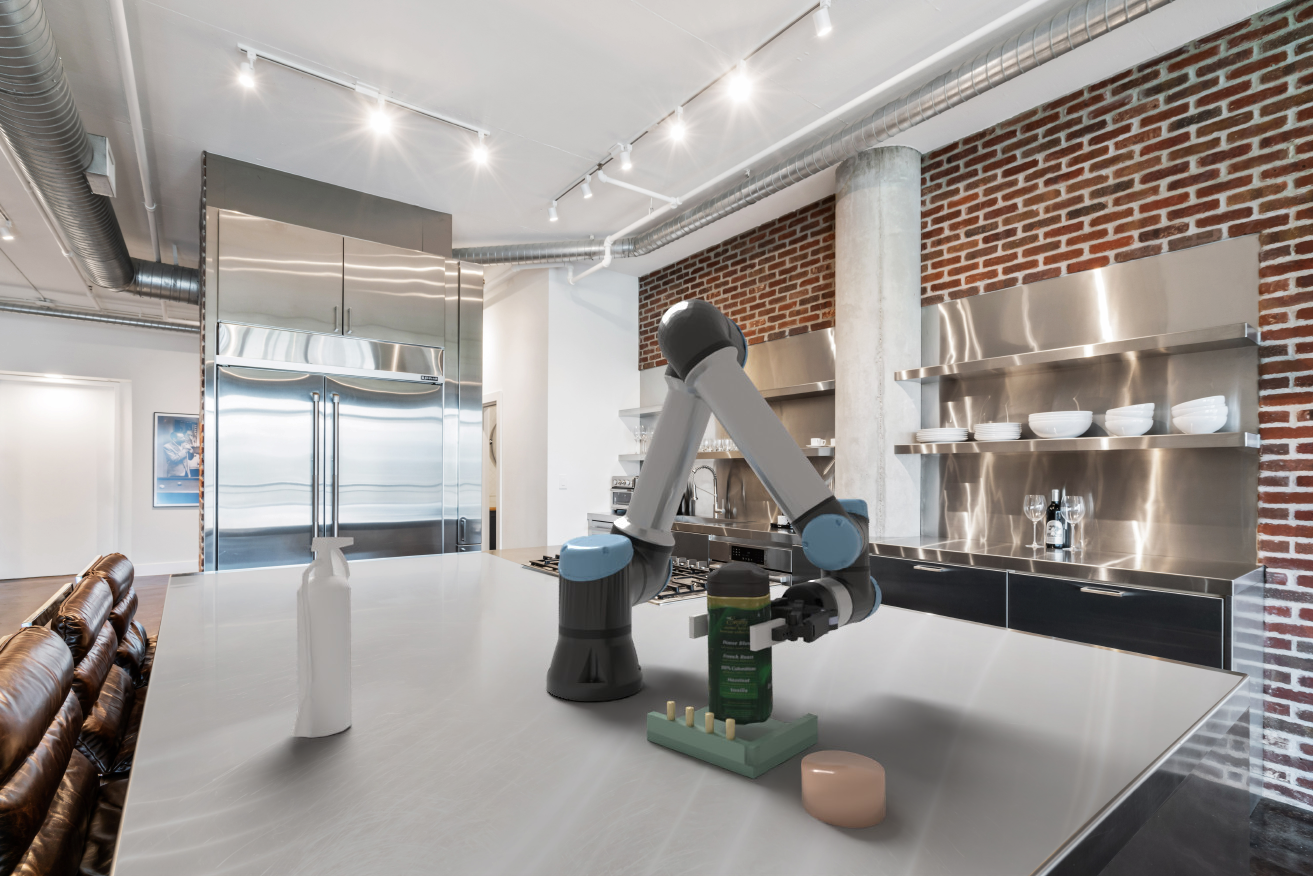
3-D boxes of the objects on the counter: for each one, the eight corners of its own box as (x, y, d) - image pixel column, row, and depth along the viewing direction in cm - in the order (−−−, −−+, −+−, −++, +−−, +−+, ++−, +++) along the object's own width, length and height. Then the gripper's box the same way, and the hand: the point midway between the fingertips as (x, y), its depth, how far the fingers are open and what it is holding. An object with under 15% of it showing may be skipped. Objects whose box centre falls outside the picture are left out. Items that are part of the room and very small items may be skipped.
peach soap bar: (786, 809, 65) (786, 767, 65) (826, 782, 71) (825, 744, 71) (863, 838, 59) (862, 793, 60) (899, 807, 65) (898, 765, 65)
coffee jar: (772, 730, 75) (767, 567, 77) (704, 725, 77) (700, 567, 79) (776, 703, 85) (771, 558, 86) (715, 699, 87) (712, 558, 88)
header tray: (647, 739, 82) (647, 697, 82) (715, 711, 92) (715, 673, 92) (753, 778, 71) (753, 729, 71) (817, 742, 81) (817, 699, 82)
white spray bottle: (262, 749, 79) (271, 540, 80) (320, 714, 91) (326, 533, 93) (316, 751, 78) (324, 540, 80) (367, 715, 90) (373, 533, 92)
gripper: (886, 644, 88) (799, 682, 72) (754, 623, 103) (656, 649, 86) (884, 588, 89) (797, 612, 72) (753, 574, 103) (656, 592, 87)
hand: (721, 632), depth 79 cm, fingers closed on coffee jar, 9 cm apart
